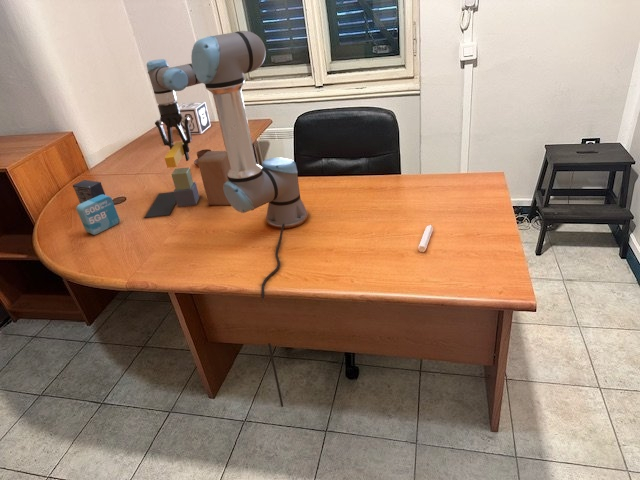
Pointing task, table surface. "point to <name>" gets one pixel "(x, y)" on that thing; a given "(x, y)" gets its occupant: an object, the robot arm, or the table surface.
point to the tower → (185, 187)
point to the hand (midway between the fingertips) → (182, 160)
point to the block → (214, 176)
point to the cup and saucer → (199, 154)
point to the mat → (162, 205)
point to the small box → (88, 190)
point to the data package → (98, 214)
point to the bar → (174, 155)
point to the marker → (425, 238)
